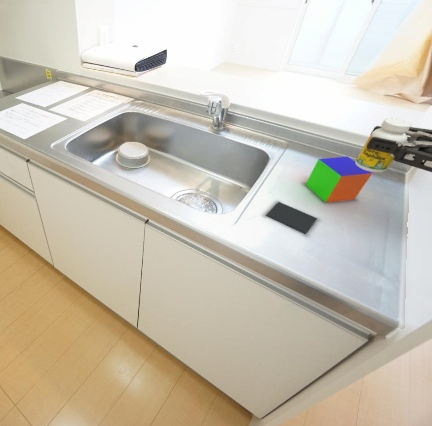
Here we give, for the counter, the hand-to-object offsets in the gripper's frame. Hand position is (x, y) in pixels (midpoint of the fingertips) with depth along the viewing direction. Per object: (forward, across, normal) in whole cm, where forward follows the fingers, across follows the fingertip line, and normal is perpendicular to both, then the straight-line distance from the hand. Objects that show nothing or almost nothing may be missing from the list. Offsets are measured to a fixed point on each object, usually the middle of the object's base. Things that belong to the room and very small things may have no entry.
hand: (371, 136), depth 56 cm
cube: (+1, -9, +20) cm, 22 cm away
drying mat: (+6, +8, +20) cm, 22 cm away
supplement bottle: (-3, 0, +6) cm, 7 cm away
